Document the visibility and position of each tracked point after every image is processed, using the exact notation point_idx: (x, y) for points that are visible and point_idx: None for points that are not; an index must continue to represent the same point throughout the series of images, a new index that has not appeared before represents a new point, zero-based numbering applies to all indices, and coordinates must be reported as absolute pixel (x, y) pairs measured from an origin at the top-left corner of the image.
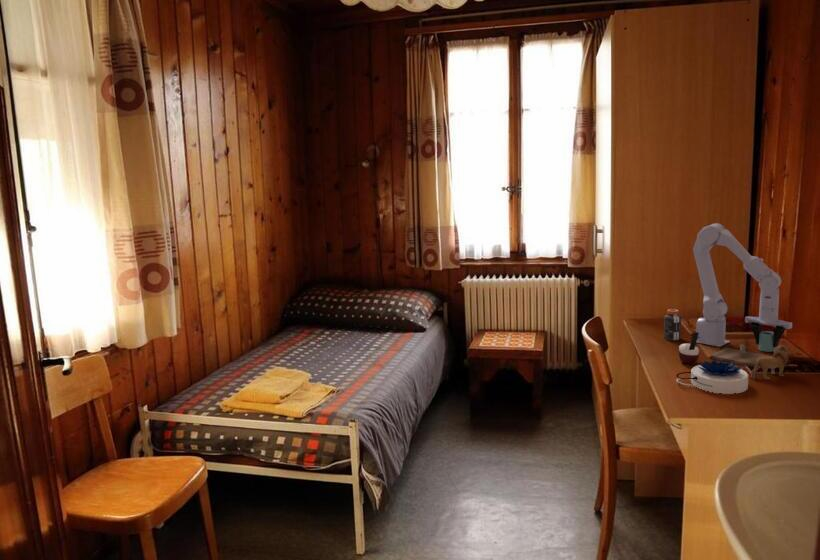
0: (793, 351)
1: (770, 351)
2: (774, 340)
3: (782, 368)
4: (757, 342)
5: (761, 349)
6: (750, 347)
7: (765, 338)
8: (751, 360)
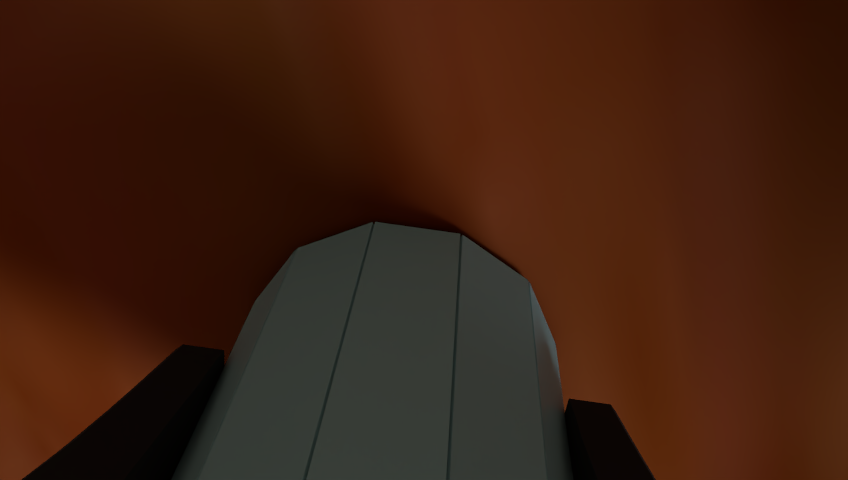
0: (24, 451)
1: (292, 258)
2: (113, 463)
3: None
4: (592, 429)
5: (467, 253)
6: (712, 373)
7: (341, 463)
8: None
